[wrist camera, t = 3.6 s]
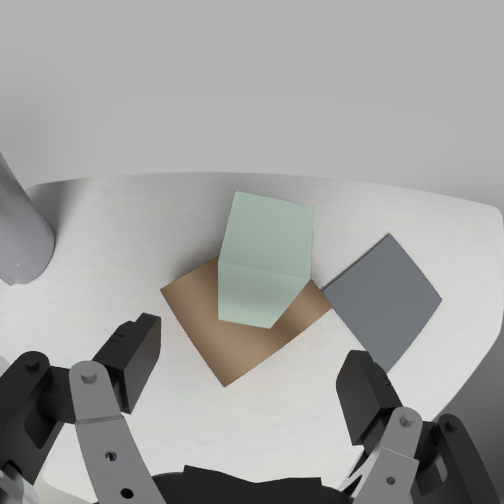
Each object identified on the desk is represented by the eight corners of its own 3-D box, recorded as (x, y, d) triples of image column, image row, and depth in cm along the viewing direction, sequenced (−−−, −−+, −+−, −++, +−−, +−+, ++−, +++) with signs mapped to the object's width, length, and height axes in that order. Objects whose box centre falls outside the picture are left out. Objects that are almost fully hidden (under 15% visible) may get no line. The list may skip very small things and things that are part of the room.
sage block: (270, 328, 22) (310, 279, 13) (218, 319, 22) (218, 261, 13) (276, 281, 24) (313, 206, 15) (228, 272, 24) (235, 191, 15)
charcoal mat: (384, 374, 25) (386, 373, 25) (320, 292, 29) (321, 291, 28) (440, 300, 30) (442, 299, 30) (388, 235, 34) (390, 233, 33)
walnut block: (223, 387, 23) (224, 387, 20) (167, 303, 26) (159, 289, 23) (318, 317, 27) (333, 306, 24) (262, 246, 31) (267, 227, 27)
